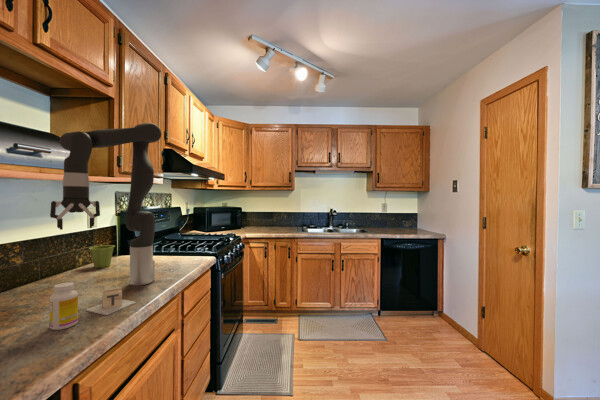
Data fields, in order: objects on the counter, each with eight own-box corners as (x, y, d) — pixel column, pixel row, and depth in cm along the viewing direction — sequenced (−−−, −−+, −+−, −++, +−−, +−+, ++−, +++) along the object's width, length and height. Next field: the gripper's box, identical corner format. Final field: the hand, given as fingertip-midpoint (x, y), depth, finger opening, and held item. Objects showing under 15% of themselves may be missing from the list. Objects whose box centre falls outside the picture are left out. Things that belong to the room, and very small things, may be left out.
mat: (116, 299, 104) (116, 298, 104) (135, 303, 101) (135, 301, 101) (86, 310, 94) (86, 309, 94) (106, 315, 90) (106, 313, 90)
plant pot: (120, 264, 157) (120, 245, 157) (103, 269, 145) (103, 249, 145) (101, 263, 158) (101, 244, 158) (83, 269, 146) (83, 248, 146)
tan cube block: (102, 304, 98) (102, 290, 98) (120, 301, 101) (120, 286, 101) (103, 310, 93) (103, 294, 93) (122, 306, 97) (122, 291, 97)
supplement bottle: (83, 320, 87) (83, 281, 86) (66, 330, 80) (66, 288, 80) (62, 320, 86) (62, 281, 86) (43, 331, 80) (43, 288, 80)
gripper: (99, 186, 107) (99, 226, 108) (51, 185, 98) (51, 228, 99) (100, 185, 102) (100, 228, 102) (49, 184, 93) (49, 231, 93)
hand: (76, 228), depth 100 cm, fingers open, 8 cm apart
